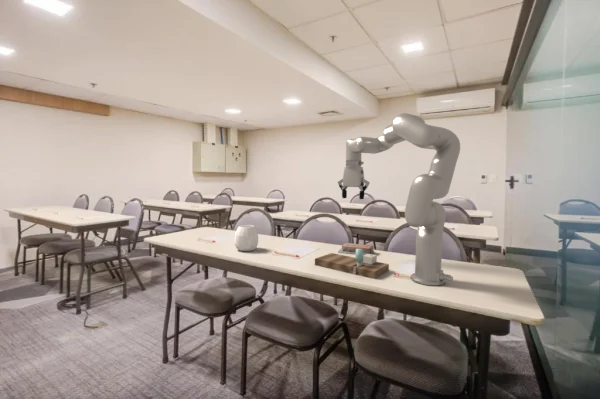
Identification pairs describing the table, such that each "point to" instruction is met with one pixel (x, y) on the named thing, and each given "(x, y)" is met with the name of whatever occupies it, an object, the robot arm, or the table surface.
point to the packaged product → (351, 248)
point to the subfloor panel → (351, 265)
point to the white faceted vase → (246, 238)
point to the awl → (359, 257)
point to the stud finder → (369, 258)
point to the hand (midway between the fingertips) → (352, 198)
